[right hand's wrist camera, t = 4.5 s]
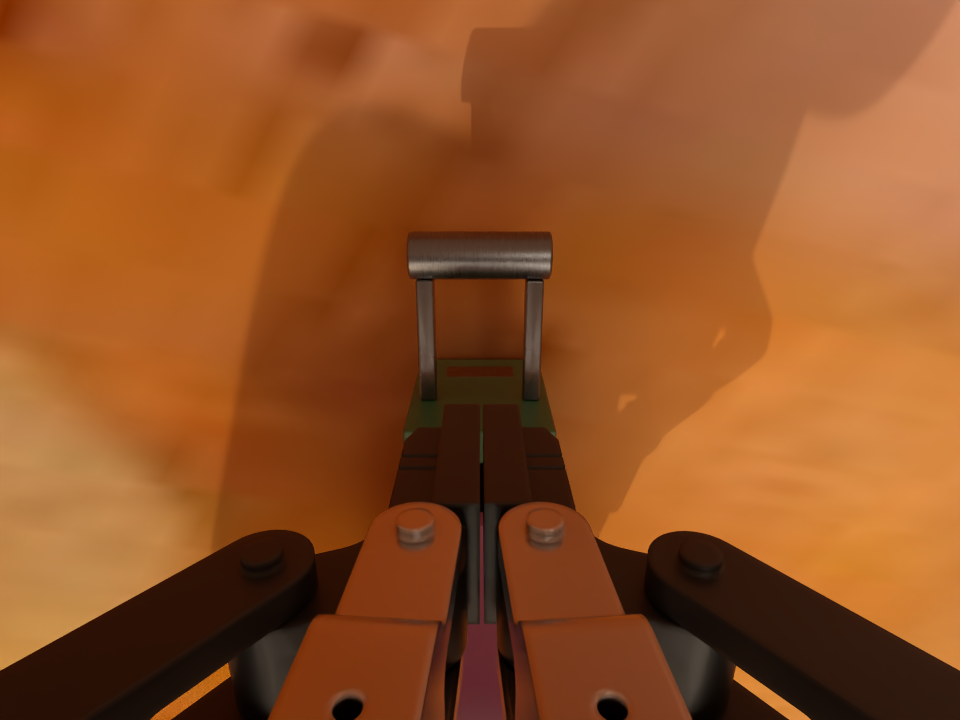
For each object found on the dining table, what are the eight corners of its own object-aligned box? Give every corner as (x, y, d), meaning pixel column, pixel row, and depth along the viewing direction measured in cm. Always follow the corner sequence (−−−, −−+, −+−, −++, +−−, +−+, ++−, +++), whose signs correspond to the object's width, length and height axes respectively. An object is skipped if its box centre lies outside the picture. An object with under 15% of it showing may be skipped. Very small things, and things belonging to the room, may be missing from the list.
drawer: (416, 215, 23) (393, 246, 17) (543, 215, 23) (566, 246, 17) (431, 633, 31) (419, 758, 25) (527, 633, 31) (539, 758, 25)
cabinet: (412, 412, 27) (384, 525, 20) (547, 413, 27) (574, 525, 20) (423, 677, 33) (406, 845, 25) (535, 677, 33) (552, 846, 25)
